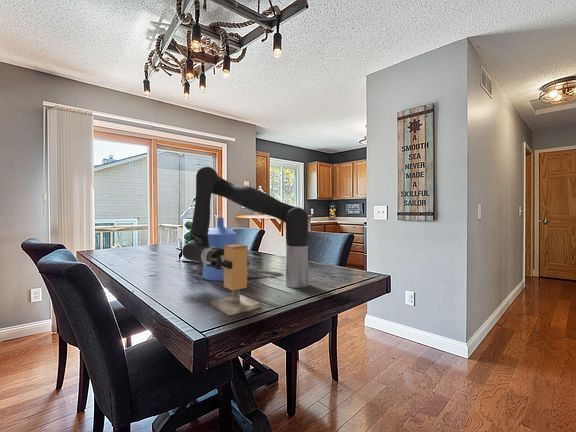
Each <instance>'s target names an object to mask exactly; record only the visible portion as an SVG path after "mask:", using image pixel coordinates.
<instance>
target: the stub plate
mask: <svg viewBox="0 0 576 432" xmlns="http://www.w3.org/2000/svg"><path fill="white" fill-rule="evenodd" d="M230 291H231V294H230V295H231V296H229V297H225V298H220V299H216V300H211V301H210V307H212V308H214V309H217V310H218V311H220V312H222V313H223V314H225V315H228V316H232V315H237V314H241V313H244V312H248V311H253V310H257V309H260V308H261V307H262V303H261V302H259V301H258V300H257V301H256V300H255V299H252V298H249V297H247V296H245V295H242V294H241V289H237V290H230Z"/></svg>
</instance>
